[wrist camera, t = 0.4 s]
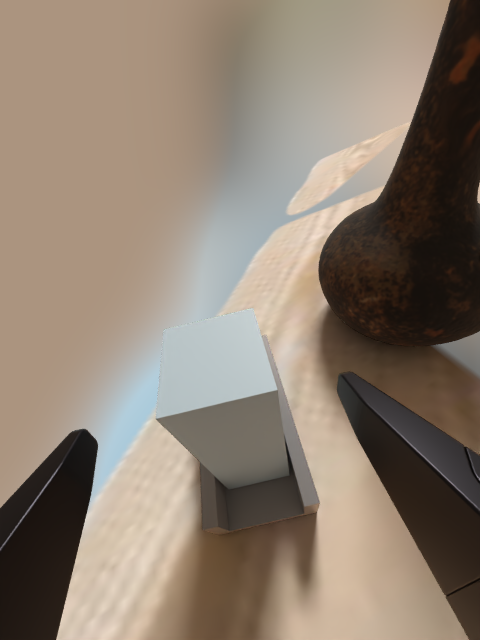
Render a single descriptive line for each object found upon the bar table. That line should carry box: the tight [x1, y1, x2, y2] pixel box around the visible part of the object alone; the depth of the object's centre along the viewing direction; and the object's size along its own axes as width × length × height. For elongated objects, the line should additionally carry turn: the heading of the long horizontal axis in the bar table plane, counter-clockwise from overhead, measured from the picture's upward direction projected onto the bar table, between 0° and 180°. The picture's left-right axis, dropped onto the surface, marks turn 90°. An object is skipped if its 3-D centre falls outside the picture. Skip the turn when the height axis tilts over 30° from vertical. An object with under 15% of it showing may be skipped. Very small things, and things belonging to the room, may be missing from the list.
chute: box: [200, 335, 320, 535], centre depth 22 cm, size 14×8×4 cm, turn 9°
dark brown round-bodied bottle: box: [319, 0, 480, 346], centre depth 21 cm, size 18×18×28 cm
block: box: [156, 308, 290, 490], centre depth 16 cm, size 5×5×14 cm
